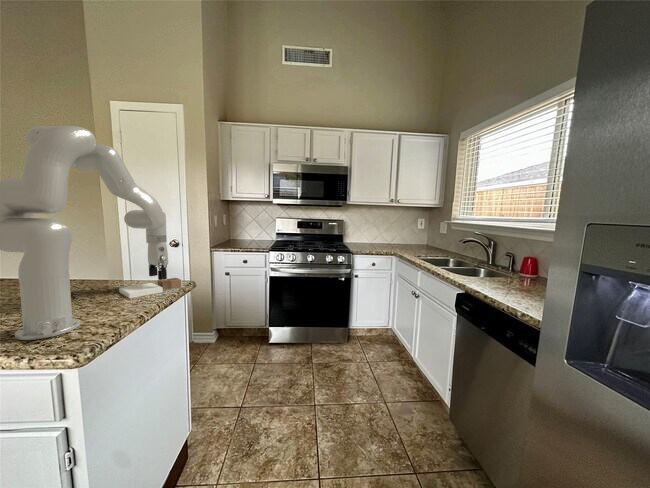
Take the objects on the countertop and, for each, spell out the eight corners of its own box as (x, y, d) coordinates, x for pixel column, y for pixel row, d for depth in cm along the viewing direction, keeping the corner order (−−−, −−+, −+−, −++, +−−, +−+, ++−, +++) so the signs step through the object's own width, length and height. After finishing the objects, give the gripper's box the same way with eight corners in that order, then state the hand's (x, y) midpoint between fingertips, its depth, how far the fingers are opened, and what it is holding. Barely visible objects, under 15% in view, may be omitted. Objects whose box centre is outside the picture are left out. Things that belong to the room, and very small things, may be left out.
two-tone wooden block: (163, 290, 115) (182, 286, 122) (163, 282, 115) (181, 279, 121) (157, 287, 119) (176, 284, 125) (157, 280, 118) (176, 277, 125)
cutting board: (162, 291, 112) (162, 287, 112) (129, 298, 103) (129, 293, 103) (151, 287, 119) (151, 282, 119) (119, 292, 110) (119, 287, 110)
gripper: (174, 240, 112) (175, 279, 114) (157, 237, 122) (159, 273, 124) (155, 241, 106) (156, 282, 108) (139, 238, 116) (140, 275, 118)
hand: (157, 277), depth 116 cm, fingers open, 9 cm apart
